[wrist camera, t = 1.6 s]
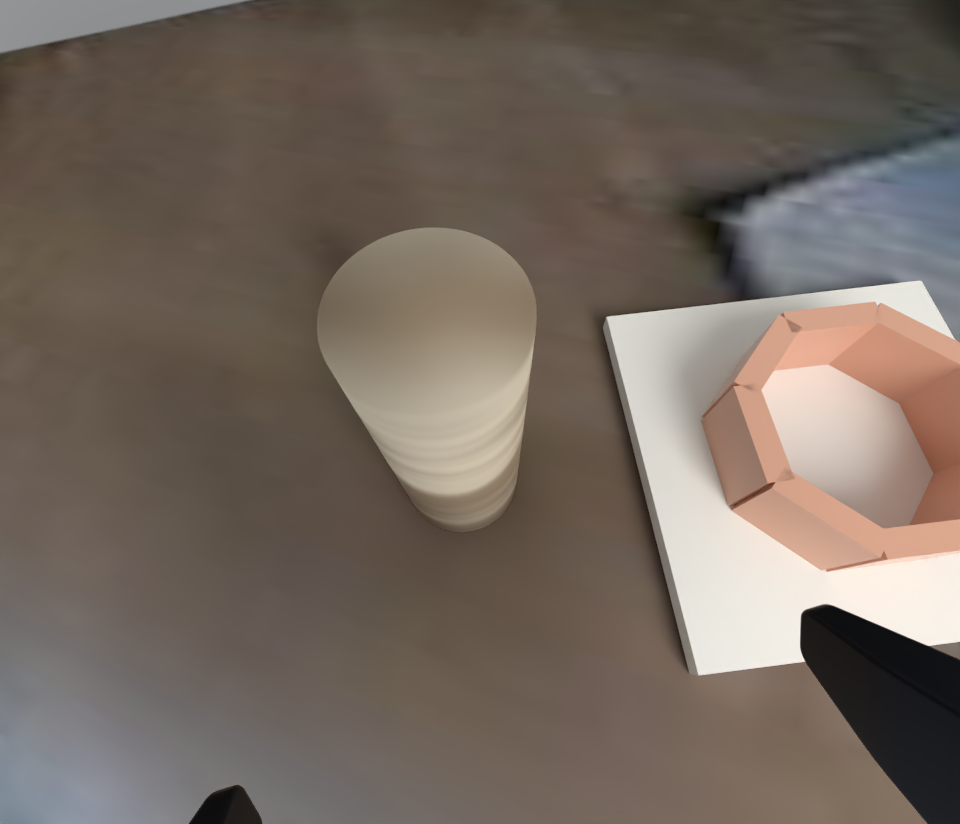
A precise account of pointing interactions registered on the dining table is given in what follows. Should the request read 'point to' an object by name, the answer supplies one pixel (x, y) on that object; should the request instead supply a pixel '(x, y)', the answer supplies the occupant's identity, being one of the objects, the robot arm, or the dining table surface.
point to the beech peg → (436, 365)
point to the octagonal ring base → (797, 465)
